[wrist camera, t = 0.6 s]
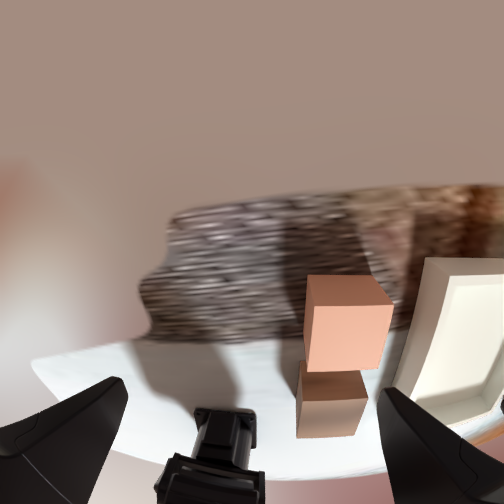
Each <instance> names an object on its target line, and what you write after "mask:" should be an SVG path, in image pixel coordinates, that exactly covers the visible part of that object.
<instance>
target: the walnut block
mask: <svg viewBox="0 0 504 504" xmlns="http://www.w3.org/2000/svg"><path fill="white" fill-rule="evenodd" d="M367 400H368V395H367V392H366V389H365V385H364V382H363V379H362V376H361V373H360V370H352V371H328V372H307V365H306V361H300V369H299V377H298V386H297V394H296V436H297V438H326V437H341V436H353V435H354V434H355V432H356V429H357V427H358V424H359V422H360V419H361V417H362V414H363V411H364V409H365V406H366V403H367Z"/></svg>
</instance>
